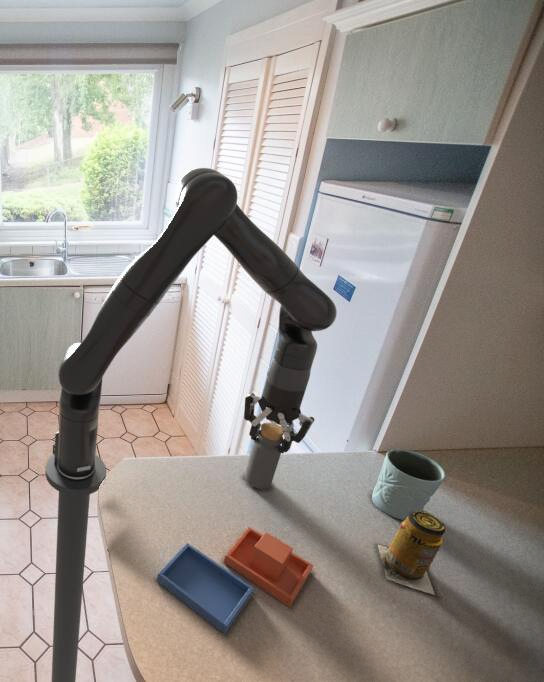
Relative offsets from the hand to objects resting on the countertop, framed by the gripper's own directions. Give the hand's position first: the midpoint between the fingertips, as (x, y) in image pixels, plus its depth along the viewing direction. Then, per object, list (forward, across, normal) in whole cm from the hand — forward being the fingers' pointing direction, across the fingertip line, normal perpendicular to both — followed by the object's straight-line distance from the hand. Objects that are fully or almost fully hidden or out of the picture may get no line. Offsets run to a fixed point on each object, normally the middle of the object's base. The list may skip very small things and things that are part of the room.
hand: (268, 444), depth 103 cm
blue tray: (+11, -5, +35) cm, 37 cm away
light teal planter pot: (+11, -24, -15) cm, 31 cm away
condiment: (+11, -29, +3) cm, 31 cm away
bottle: (+11, 0, 0) cm, 11 cm away
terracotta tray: (+11, -11, +22) cm, 27 cm away
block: (+11, -11, +22) cm, 27 cm away
